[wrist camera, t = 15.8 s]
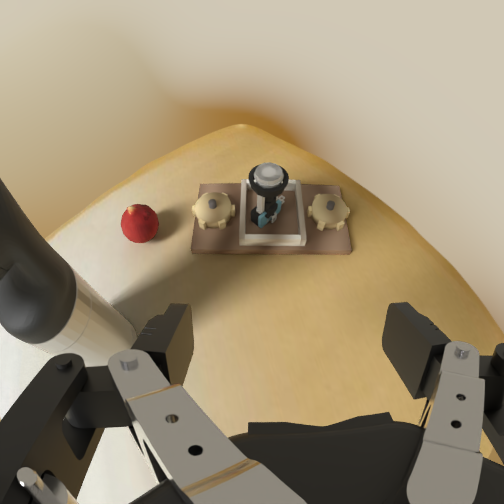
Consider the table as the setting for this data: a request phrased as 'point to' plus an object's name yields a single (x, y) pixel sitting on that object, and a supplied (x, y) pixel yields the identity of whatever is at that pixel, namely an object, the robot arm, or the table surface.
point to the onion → (139, 223)
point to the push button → (267, 191)
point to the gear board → (271, 234)
